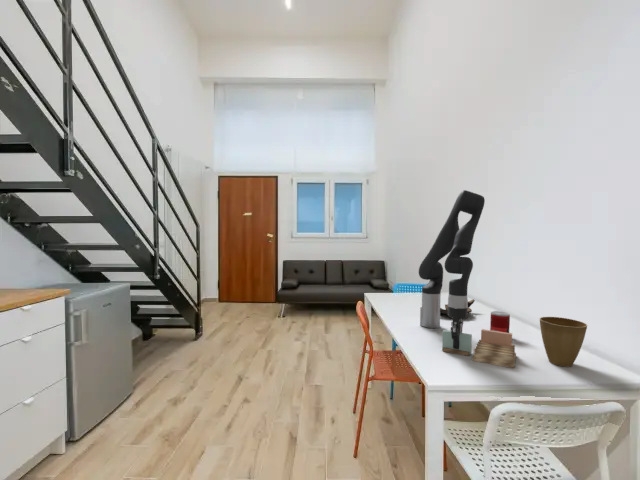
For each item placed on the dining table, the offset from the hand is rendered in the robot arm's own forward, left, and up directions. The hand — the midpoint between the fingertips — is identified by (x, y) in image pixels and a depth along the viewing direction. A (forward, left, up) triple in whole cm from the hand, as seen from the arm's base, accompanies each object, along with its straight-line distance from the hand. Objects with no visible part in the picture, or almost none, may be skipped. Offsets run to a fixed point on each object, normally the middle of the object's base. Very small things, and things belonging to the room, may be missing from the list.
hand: (456, 347), depth 147 cm
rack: (+14, +1, -2) cm, 14 cm away
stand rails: (0, 0, -2) cm, 2 cm away
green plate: (0, 0, -2) cm, 2 cm away
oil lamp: (-13, +67, -2) cm, 68 cm away
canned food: (+13, +34, -2) cm, 36 cm away
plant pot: (+36, +9, -2) cm, 37 cm away
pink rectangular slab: (+14, +6, -1) cm, 15 cm away
